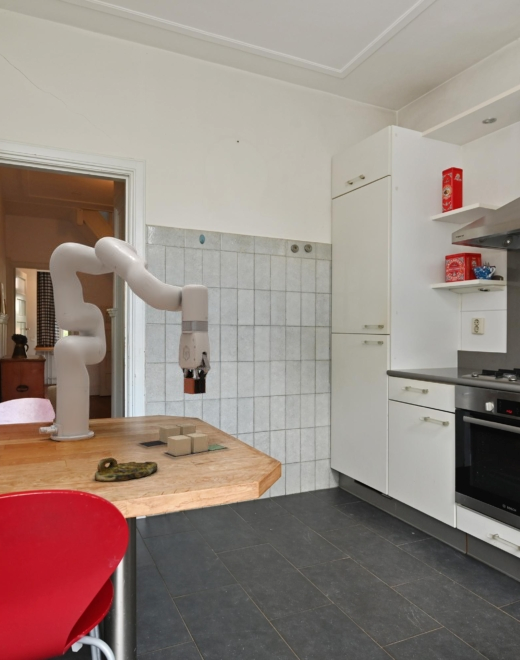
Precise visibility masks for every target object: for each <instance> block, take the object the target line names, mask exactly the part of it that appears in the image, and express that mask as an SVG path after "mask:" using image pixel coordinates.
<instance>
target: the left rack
mask: <svg viewBox="0 0 520 660" xmlns="http://www.w3.org/2000/svg"><path fill="white" fill-rule="evenodd" d="M158 428H159V429H158V430H159V431H158V432H159V433H158V434H159V435H158V440H153V441H151V440H150V441H144V442H138V444H139V445H140V446H141V445H142V446H144V447H146V448H151V447H158V446H165V445H167V442H168V437H172V436H179V435H183V436H186V435H187V434H194V433H197V425H196V424H192V423H190V422H188V423H178V424H175V425H173V424H170V425H163V426H162V425H161V426H159V427H158Z"/></svg>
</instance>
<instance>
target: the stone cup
mask: <svg viewBox="0 0 520 660" xmlns="http://www.w3.org/2000/svg"><path fill="white" fill-rule="evenodd" d="M47 397H48V400H49V403H50V405H51V408H52V410H53V413H54V418H53V419H52V423H56V401H57V384H56V385H51V386H48V387H47Z"/></svg>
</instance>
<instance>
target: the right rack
mask: <svg viewBox="0 0 520 660" xmlns="http://www.w3.org/2000/svg"><path fill="white" fill-rule="evenodd" d="M166 445H167V447H166V448H167V450H166V452H164V454H165V455H167V456H169V457H173V458H179V457H187V456H191V455H197V454H203V453H209V452H214V451H220V450H226V449H228V447H226V446H222V445H219V444H210V445H209V434H207V433H206V434H205V433H201V432H196V433H194V434H187V435H186V436H183V435H179V436H172V437H168V442H167V444H166Z"/></svg>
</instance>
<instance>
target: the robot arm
mask: <svg viewBox="0 0 520 660" xmlns="http://www.w3.org/2000/svg"><path fill="white" fill-rule="evenodd" d="M148 268H149V264H148V262H147V260H146V259H145V258H143V257H142V256H140V254H138V252H137V249H136V248H135V246H134V245H133V244H131V243H130V242H129V241H128V242H127V241H125V240H122V239H119V238H116V237H112V236H104V237H102V238H100V239H98V240H97V241H96V242H95V245H94V247H91V246H88V245H85V244H81V243H76V242H64V243H62V244H59V245H58V246H57V247H56V248H55V249H54V250H53V252H52V254H51V256H50V259H49V275H50V278H51V283H52V290H53V305H54V314H55V322H56V325H57V327H58V328H59V329H61V330H63V331H66V332H78V334H69V335H65V336H62V337H61V338H59V339H58V340H57V341H56V342H55V344H54V347H53V358H54V359H53V360H54V364H55V371H56V385H57V401H56V423H54V422H52V425H49V426H41V427H39V428H38V433H39V435H43V434H46V435H49V434H50V437H49V438H50V439H51V440H53V441H58V442H63V441H64V442H65V441H79V440H86V439H90V438H93V437H94V436H95V431H93V430H90V374H89V372H88V369H87V366H90V365H91V366H92V365H97V364H100V363H101V362H102V361H103V360H104V358H105V357H106V353H107V339H106V331H105V330H106V329H105V319H104V315H103V313H102V311H101V309H100V308H99V307H98V306H97V305H96V304H94V303H91V302H85V300H84V295H83V286H82V283H81V281H80V278H79V277H78V275H77V272H79V273H83V274H88V275H92V276H93V275H94V276H97V275H99V276H100V275H105V274H110V273H115V274H116V275H117V276H118V277H120V279H122V280H123V281H125V282H126V284H127V286H128V287H129V289H130V290H131V292H132V293H133V294H135V295H136V296H137V297H138V298H139V299H140V300H142V301H143V302H144V303H146V304H147V305H148V306H150V307H151V308H153V309H154V310H155V309H156V310H159V311H166V312H167V311H168V312H175V313H177V312H181V333H180V337H179V346H178V366H179V368H180V369H181V370H182V373H183V379H184V378H196V379H195V384H194V392H195V394H194V395H201V394H200V393H203V394H206V393H205V379H206V380H207V375H208V373H209V371H210V370H211V351H210V348H211V347H210V337H209V289H208V287H207V286H206V285H204V284H198V283H197V284H195V283H194V284H193V283H190V284H186V285H185V284H184V285H183V286H178V285H175V284H169V283H165V282H163V281H161V280H160V279H158V278H157V277H156V276H154V274H152V273H151V272H150V271H148V270H149V269H148Z"/></svg>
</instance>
